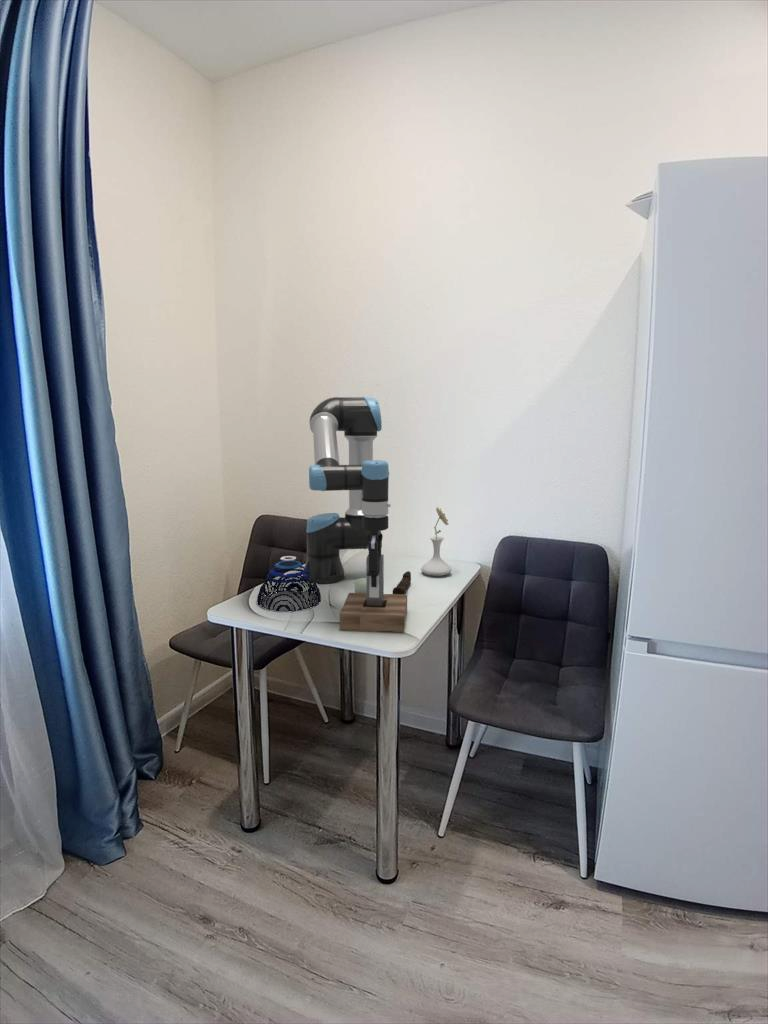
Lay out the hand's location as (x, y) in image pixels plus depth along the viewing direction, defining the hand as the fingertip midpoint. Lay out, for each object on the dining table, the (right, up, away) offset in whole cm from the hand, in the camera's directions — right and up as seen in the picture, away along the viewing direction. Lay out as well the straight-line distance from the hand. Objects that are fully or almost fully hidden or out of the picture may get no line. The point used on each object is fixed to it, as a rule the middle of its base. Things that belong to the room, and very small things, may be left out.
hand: (375, 594), depth 166 cm
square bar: (0, -3, 0) cm, 3 cm away
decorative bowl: (-28, -5, +18) cm, 33 cm away
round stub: (-3, -5, +17) cm, 18 cm away
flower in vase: (+22, +1, +49) cm, 54 cm away
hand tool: (+9, -3, +30) cm, 31 cm away
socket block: (0, -8, +2) cm, 8 cm away
